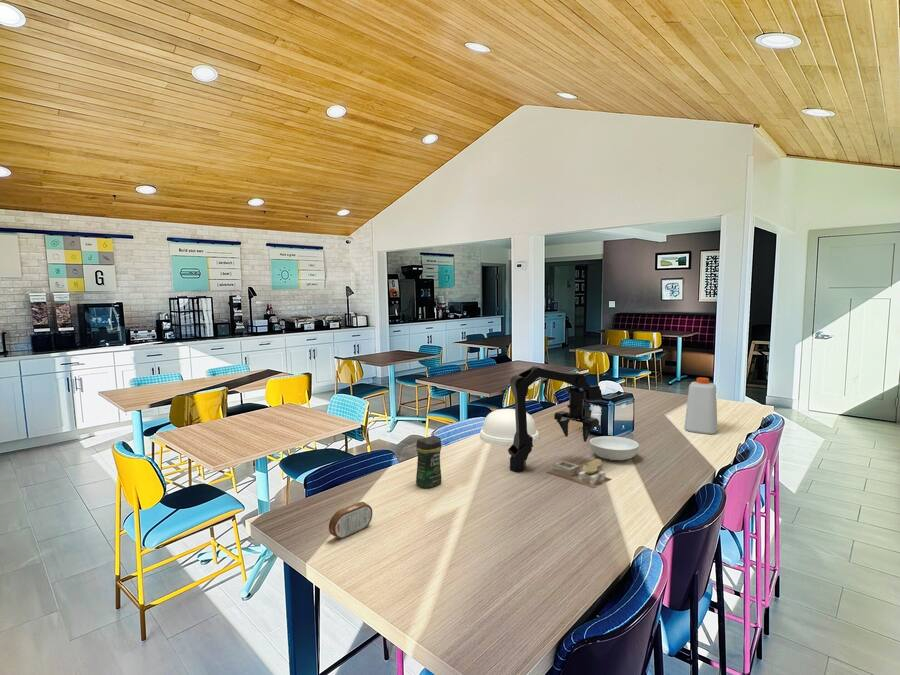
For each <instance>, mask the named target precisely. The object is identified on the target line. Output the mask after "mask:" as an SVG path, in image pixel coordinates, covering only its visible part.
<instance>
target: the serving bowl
mask: <svg viewBox="0 0 900 675" xmlns="http://www.w3.org/2000/svg"><path fill="white" fill-rule="evenodd" d="M589 445H590V446H589V447H590V449H591V451H592V452H593V453H594V455H596V456H598V457H600V458H602V459H605V460H608V459H609V460H608V461H614V460H619V461H625V460H630V459H631V458H633V457H635V456H636V455H637V454H638V451H639V448H640V444H639V443H638V442H637V441H635V440H633V439H630V438H628V437H621V436H614V435H613V436H611V435H610V436H609V435H608V436H607V435H603V436H595V437H593V438H591V439H589Z"/></svg>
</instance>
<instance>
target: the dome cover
mask: <svg viewBox="0 0 900 675" xmlns="http://www.w3.org/2000/svg"><path fill="white" fill-rule="evenodd" d="M526 417H527V433H528V434H529V435H530V436H531V437H533V441H532V444H533V445H534V444H536V443H538V441H539V440H540V434H539V431H538V430H537V427H536V423H535V420H534V418H533V416H532V415H531V414H530V413H528V412H526ZM483 421H484V422H483V427H482V428H481V429H480V431H479V432H480V433H479V438H480V440H481V441H482V442H484V443H486V444H489V445H493V446H499V447H509V448H510V447H511V446H512V445H513V442H514V436H515V433H516V417H515V408H500V409H496V410H493V411H491V412H489V413H488V414H487V415H486V417H485V419H484V420H483Z"/></svg>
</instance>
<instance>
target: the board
mask: <svg viewBox="0 0 900 675" xmlns="http://www.w3.org/2000/svg"><path fill="white" fill-rule="evenodd" d="M545 473H546V474H549V475H552V476H554V477H557V478H562V479H565V480H568V481H569V482H574V483H577V484H580V485H582V486H585V487H589V488H592V489H597V488H598V487H600V486H603V485H604V484H606V483H608V482H610V481H611V480H613V479H612V478H611V477H610V478H609V477H607V476H606V471H603V470H600V469H597V473H596V474H594V475H589V474H587V471H585V470H583V469H581V465H580V464H576V463H573V462H570V461H565V460H563V459H562V460H560V461H558V462H555V463H553V464H552V469H550V470H548V471H546V472H545Z"/></svg>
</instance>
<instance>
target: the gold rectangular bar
mask: <svg viewBox="0 0 900 675" xmlns="http://www.w3.org/2000/svg"><path fill="white" fill-rule="evenodd" d="M599 466H602V459H601V458H600V459H599V458H595V459H593V460H590V461H589V462H586V463H584V464H582V470H583V471H584V470H585V471H587V474H589V475H594V474H596V473H597V470H598V467H599Z"/></svg>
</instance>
